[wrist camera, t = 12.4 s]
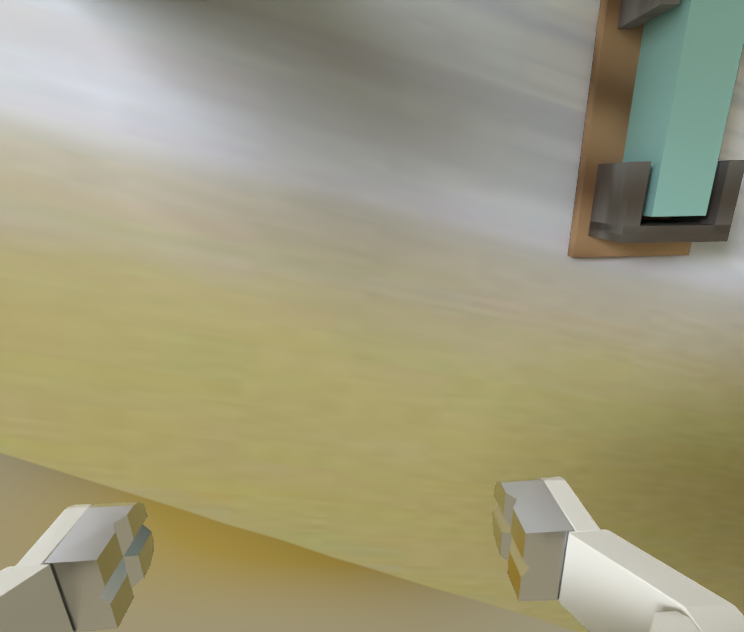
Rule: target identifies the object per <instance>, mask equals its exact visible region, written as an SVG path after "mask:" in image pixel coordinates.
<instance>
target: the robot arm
mask: <svg viewBox="0 0 744 632" xmlns="http://www.w3.org/2000/svg"><path fill="white" fill-rule="evenodd" d="M494 496H495V499H496V501H497V503H498V506H497V507H496V508H495V509H494V511H493V530H494V537H495V541H496V545H497V547H498V550H499V553H500V555H501V556H502V557H503V558H504V559H506V560H507V561H508V572H507V573H508V576H509V578H510V581H511V583H512V586H513V588H514V591H515V593H516V596H517V598H518V601H543V600H559V603H560V604H561V605H562V606H563V607H564V608H565V609H566V610H567V611H569V612H570V613H571V614H572V615H573V616H574V617H575V618H576V619H577V620H578V621H579V622H580V623H581V624H582V625H583V626H584V627H585V628H586V629H587V630H588V631H589V632H744V615H743V614H742V613H741V612H740V611H739V610H738V609H737V608H736V606H735V605H733V604H731V603H730V602H728V601H726V600H725V599H723V598H721V597H720V596H718V595H716V594H715V593H713V592H711V591H710V590H708V589H706V588H705V587H703V586H701V585H699V584H698V583H696V582H694V581H693V580H691V579H689V578H688V577H686V576H684V575H683V574H681V573H679V572H678V571H676V570H674V569H673V568H671V567H669V566H668V565H666V564H664V563H663V562H661V561H659V560H658V559H656V558H654V557H653V556H651V555H649V554H648V553H646V552H644V551H643V550H641V549H639V548H637V547H636V546H634V545H632V544H631V543H629V542H627V541H626V540H624V539H622V538H621V537H619V536H617V535H616V534H614V533H612V532H611V531H609V530H601V529H600V528H599V527H598V525H597V524H596V523H595V521H594V520H593V518H592V517H591V516H590V514H589V513H588V511H587V510H586V509H585V507H584V506H583V504H582V503H581V502H580V500H579V499H578V497H577V496H576V495H575V493H574V492H573V490H572V489H571V488H570V486H569V485H568V483H567V482H566V481H565V479H563V478H562V477H547V478H539V479H526V480H510V481H497V482H496V485H495V491H494ZM146 518H147V513H146V509H145V506H144V504H142V503H140V502H127V503H100V504H99V503H97V504H82V505H72V506H70V507H68V508H66V509H65V510H64V511H63V512H62V513H61V515H60V516H59V517H58V518H57V519H56V520H55V521H54V523H53V524H52V525H51V526H50V527H49V528H48V530H47V531H46V532H45V533H44V534H43V535H42V536H41V538H40V539H39V540H38V541H37V542H36V543H35V544H34V546H33V547H32V548H31V549H30V550H29V551H28V552H27V553H26V555H25V556H24V557H23V558H22V559H21V560H20V562H19V563H18V564H17V565H16V566H13V567H7V568H5V569H3V570H2V571H0V632H85V631H96V630H106V629H116V628H118V627H119V625H120V623H121V621H122V619H123V617H124V615H125V613H126V612H127V610H128V608H129V606H130V604H131V602H132V600H133V598H134V596H133V592H132V587H134V586H135V585H136V584H137V583H139V582H140V581H141V580H142V579H143V578H144V577H145V575H146V573H147V571H148V569H149V567H150V564H151V560H152V556H153V551H154V545H153V536H152V532H151V531H150V530H149V529H148V528H146V527H145V526H144V525H143V523H144V521H145V519H146Z"/></svg>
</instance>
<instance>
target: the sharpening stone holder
mask: <svg viewBox="0 0 744 632" xmlns="http://www.w3.org/2000/svg"><path fill="white" fill-rule="evenodd" d="M679 3H680V0H601V1H600V9H599V17H598V25H597V32H596V40H595V48H594V56H593V63H592V71H591V79H590V87H589V94H588V102H587V110H586V118H585V125H584V133H583V141H582V149H581V156H580V164H579V172H578V180H577V187H576V195H575V203H574V211H573V218H572V226H571V234H570V242H569V249H568V256H571V257H617V256H664V255H689V252H690V247H691V242H711V241H727V239H728V235H729V231H730V227H731V223H732V219H733V214H734V210H735V206H736V202H737V198H738V194H739V190H740V186H741V181H742V177H743V173H744V160H728V161H718V163H717V168H716V172H715V177H714V181H713V186H712V190H711V195H710V199H709V204H708V208H707V213H706V216H665V217H649V216H642V211H643V205H644V200H645V194H646V188H647V183H648V177H649V172H650V166H651V161H645V162H623V157H624V150H625V144H626V137H627V131H628V124H629V118H630V111H631V105H632V99H633V92H634V86H635V79H636V73H637V66H638V60H639V53H640V47H641V40H642V34H643V28H644V23H646V22H647V21H649V20H651V19H653V18H655V17H657V16H659V15H660V14H662V13H664V12H666V11H668V10H670V9H672V8H673V7H675V6H677V5H679Z"/></svg>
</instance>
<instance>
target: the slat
mask: <svg viewBox="0 0 744 632" xmlns="http://www.w3.org/2000/svg"><path fill="white" fill-rule="evenodd" d="M743 45H744V0H680V3H679V5H677V6H675V7H673V8H672V9H670V10H668V11H666V12H664V13H662V14H660V15H659V16H657V17H655V18H653V19H651V20H649V21H647V22H646V23H644V28H643V34H642V40H641V47H640V53H639V60H638V66H637V73H636V79H635V86H634V92H633V99H632V105H631V111H630V118H629V124H628V131H627V137H626V144H625V150H624V157H623V162H645V161H651V166H650V172H649V177H648V183H647V188H646V194H645V200H644V205H643V211H642V216H649V217H665V216H706V213H707V208H708V204H709V199H710V195H711V190H712V186H713V181H714V177H715V172H716V168H717V163H718V158H719V154H720V149H721V145H722V140H723V136H724V131H725V127H726V122H727V118H728V113H729V108H730V104H731V99H732V95H733V90H734V86H735V81H736V77H737V72H738V68H739V63H740V58H741V54H742V49H743Z"/></svg>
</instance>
